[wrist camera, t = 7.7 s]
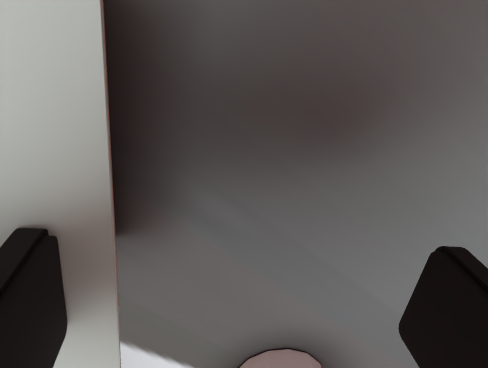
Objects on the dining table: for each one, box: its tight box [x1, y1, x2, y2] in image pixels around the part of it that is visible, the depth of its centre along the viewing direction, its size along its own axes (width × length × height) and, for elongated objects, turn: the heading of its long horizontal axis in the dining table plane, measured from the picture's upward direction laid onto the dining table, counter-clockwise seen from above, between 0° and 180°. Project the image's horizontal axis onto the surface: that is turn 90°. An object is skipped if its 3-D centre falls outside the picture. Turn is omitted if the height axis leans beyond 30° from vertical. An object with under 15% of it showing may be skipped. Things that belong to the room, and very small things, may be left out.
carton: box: [0, 0, 121, 368], centre depth 11 cm, size 8×12×4 cm
